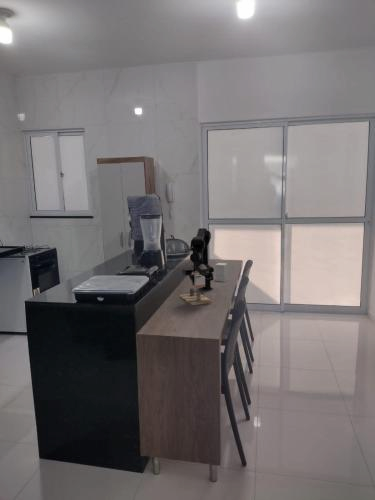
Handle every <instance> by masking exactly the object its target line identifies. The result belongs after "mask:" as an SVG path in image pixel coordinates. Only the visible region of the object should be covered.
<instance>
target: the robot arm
mask: <svg viewBox="0 0 375 500" xmlns="http://www.w3.org/2000/svg"><path fill="white" fill-rule="evenodd" d="M211 239H212V233H211V231H210V230H208V229H207V228H203V227H202V228H198V231H197V234H196V236H193V237H192V239H191V241H190V248H189V251H192V253H191V254H190V255H189V260H190V261H191V262H192V263H193V264H192V265H193V266H192V269H190V268H183V269H182V270H181V271H182V275H185V276H188V278H189V279H190V281H191V285H192V284H193V285H194V276H196V275H195V274H194V273H198V275H202V276H204V277H205V287H199V288H200V289H202V290H204V291H207V290H212V289H213V287H211V285H212V284H211V282H212V281H214V274H213V273H215V267H213V266H210V264H209V262H210V261H209V244H210V242H211Z"/></svg>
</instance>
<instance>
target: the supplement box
mask: <svg viewBox="0 0 375 500" xmlns="http://www.w3.org/2000/svg"><path fill="white" fill-rule="evenodd" d="M214 273H215V275H214V276H215V277H214V279H215V282H223V283H225V282H227V281H229V264H228V263H227V262H224V263H223V262H218V263H216V264H215V265H214Z"/></svg>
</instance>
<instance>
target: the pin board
mask: <svg viewBox="0 0 375 500" xmlns="http://www.w3.org/2000/svg"><path fill="white" fill-rule="evenodd" d="M194 289H195V288H194V287H193V288H189V293H184V294H179V298H180V299H182V300H183V301H185V302H186V303H187V304H189V305H190V306H198V305H199V306H200V305H205V304H210V303H211V304H212V303H213V300H211V299H210V298H208V297H206V296H205V295H203V294H201V293H202V292H195V290H194Z"/></svg>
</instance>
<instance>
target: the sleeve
mask: <svg viewBox="0 0 375 500" xmlns="http://www.w3.org/2000/svg"><path fill="white" fill-rule="evenodd" d="M191 286H192V287H193V288H194V289H199V288H200V287H205V277H204V276H202V275H199V274H196V275H195V276H194V285H193V284H192V283H191Z"/></svg>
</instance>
